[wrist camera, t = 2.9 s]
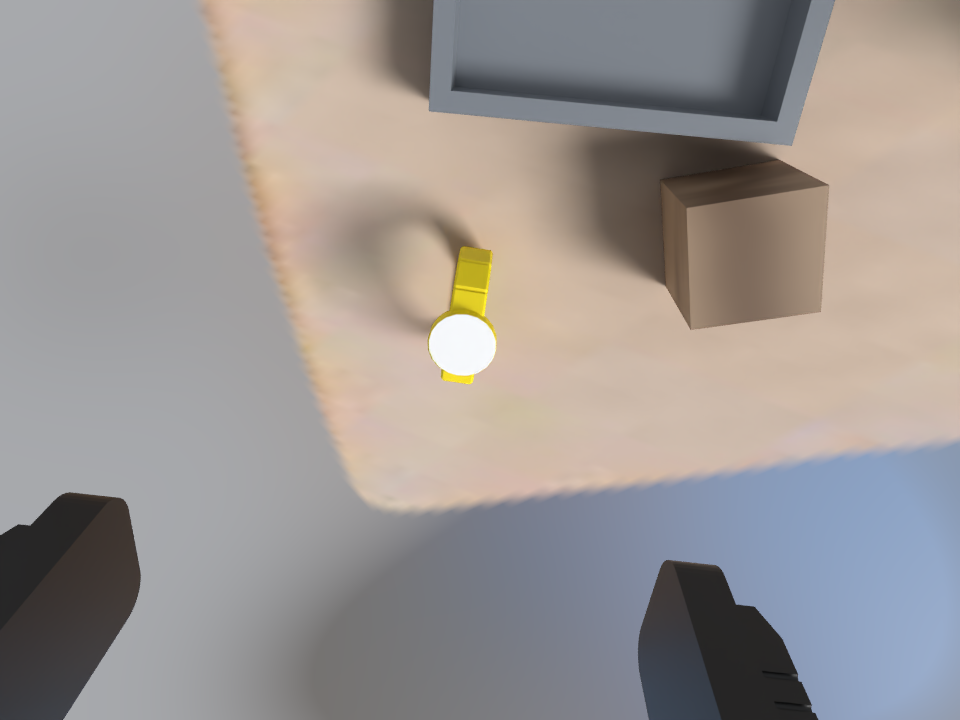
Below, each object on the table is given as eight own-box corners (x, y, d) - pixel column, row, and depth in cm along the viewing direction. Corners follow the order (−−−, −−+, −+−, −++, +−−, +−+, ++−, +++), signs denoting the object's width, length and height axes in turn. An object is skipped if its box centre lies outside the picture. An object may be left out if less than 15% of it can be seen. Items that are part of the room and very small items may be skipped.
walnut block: (778, 159, 28) (829, 185, 23) (775, 269, 30) (820, 312, 25) (659, 179, 28) (686, 208, 24) (665, 285, 30) (690, 330, 26)
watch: (449, 230, 30) (437, 264, 24) (508, 240, 30) (509, 275, 25) (433, 348, 32) (419, 402, 27) (488, 356, 32) (485, 413, 27)
